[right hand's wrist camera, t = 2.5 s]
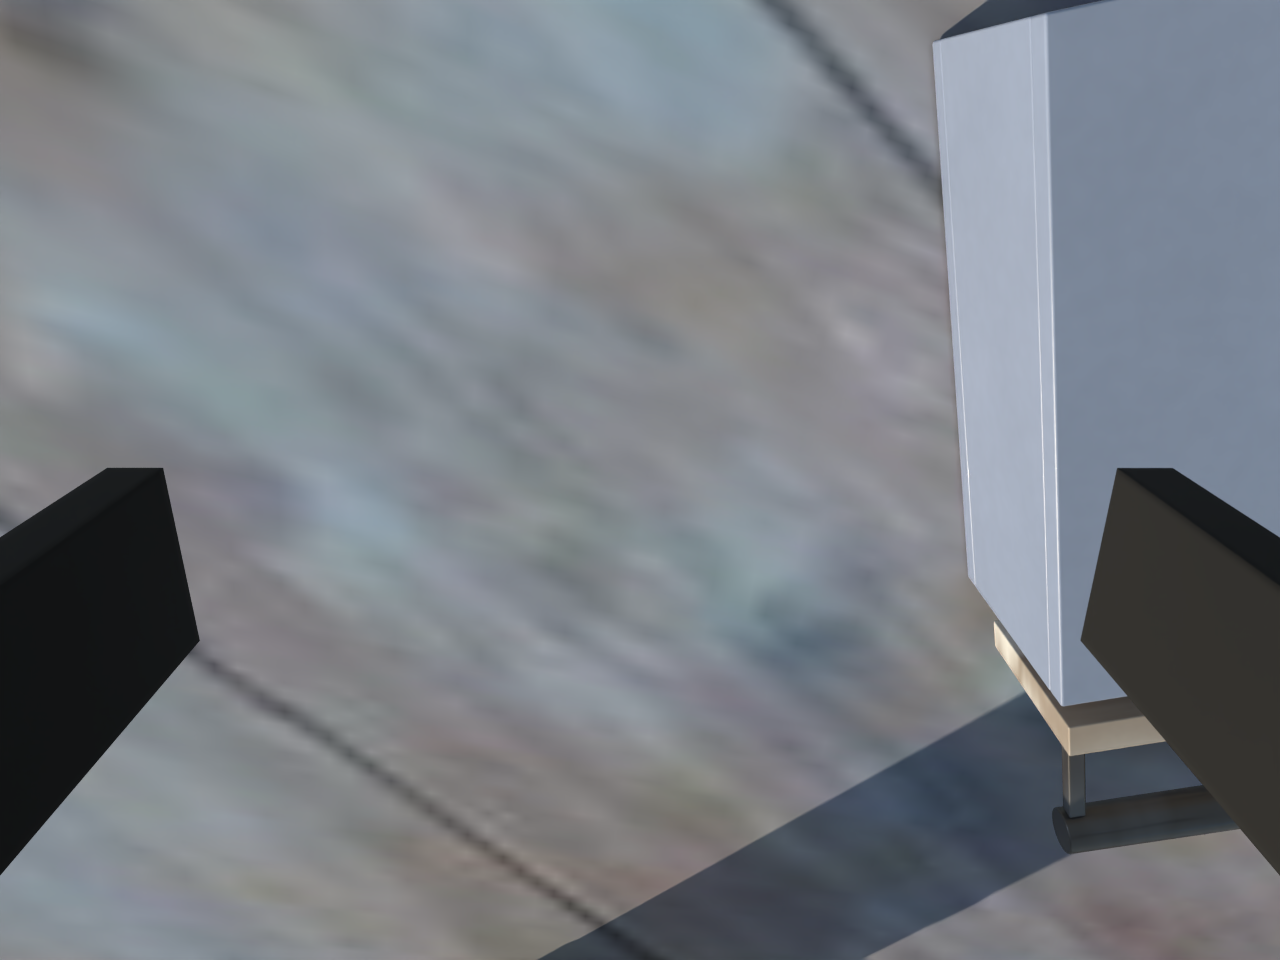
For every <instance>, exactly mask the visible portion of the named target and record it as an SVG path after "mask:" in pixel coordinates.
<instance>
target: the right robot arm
mask: <svg viewBox="0 0 1280 960" xmlns="http://www.w3.org/2000/svg"><path fill="white" fill-rule="evenodd" d="M199 641H200V640H199V635H198V630H197V626H196V621H195V616H194V611H193V607H192V602H191V597H190V593H189V588H188V583H187V579H186V574H185V569H184V564H183V560H182V555H181V550H180V546H179V541H178V536H177V532H176V527H175V522H174V517H173V513H172V508H171V503H170V499H169V494H168V489H167V485H166V480H165V475H164V470H163V468H106V469H105V470H103V471H102V472H100V473H99V474H97V475H96V476H94V477H93V478H91V479H89V480H88V481H86V482H85V483H83V484H82V485H80V486H79V487H77V488H76V489H74V490H72V491H71V492H69V493H68V494H66V495H65V496H63V497H62V498H60V499H59V500H57V501H56V502H54V503H52V504H51V505H49V506H48V507H46V508H45V509H43V510H42V511H40V512H39V513H37V514H35V515H34V516H32V517H31V518H29V519H28V520H26V521H25V522H23V523H22V524H20V525H18V526H17V527H15V528H14V529H12V530H11V531H9V532H8V533H6V534H5V535H3V536H2V537H0V875H1V874H2V873H3V871H4V870H5V869H6V868H7V867H8V866H9V864H10V863H11V862H12V861H13V860H14V858H15V857H16V856H17V855H18V854H19V853H20V851H21V850H22V849H23V848H24V847H25V846H26V844H27V843H28V842H29V841H30V840H31V838H32V837H33V836H34V835H35V834H36V833H37V831H38V830H39V829H40V828H41V827H42V826H43V824H44V823H45V822H46V821H47V820H48V818H49V817H50V816H51V815H52V814H53V813H54V811H55V810H56V809H57V808H58V807H59V806H60V804H61V803H62V802H63V801H64V800H65V798H66V797H67V796H68V795H69V794H70V793H71V791H72V790H73V789H74V788H75V787H76V786H77V784H78V783H79V782H80V781H81V780H82V778H83V777H84V776H85V775H86V774H87V773H88V771H89V770H90V769H91V768H92V767H93V766H94V764H95V763H96V762H97V761H98V760H99V758H100V757H101V756H102V755H103V754H104V753H105V751H106V750H107V749H108V748H109V747H110V746H111V744H112V743H113V742H114V741H115V740H116V738H117V737H118V736H119V735H120V734H121V733H122V731H123V730H124V729H125V728H126V727H127V726H128V724H129V723H130V722H131V721H132V720H133V718H134V717H135V716H136V715H137V714H138V713H139V711H140V710H141V709H142V708H143V707H144V706H145V704H146V703H147V702H148V701H149V700H150V698H151V697H152V696H153V695H154V694H155V693H156V691H157V690H158V689H159V688H160V687H161V686H162V684H163V683H164V682H165V681H166V680H167V678H168V677H169V676H170V675H171V674H172V673H173V671H174V670H175V669H176V668H177V667H178V666H179V664H180V663H181V662H182V661H183V660H184V658H185V657H186V656H187V655H188V654H189V653H190V651H191V650H192V649H193V648H194V647H195V646H196V644H197V643H198V642H199ZM1080 641H1081V642H1082V643H1083V644H1084V646H1085V647H1086V648H1087V649H1088V650H1089V651H1090V653H1091V654H1092V655H1093V656H1094V657H1095V658H1096V660H1097V661H1098V662H1099V663H1100V664H1101V666H1102V667H1103V668H1104V669H1105V670H1106V671H1107V673H1108V674H1109V675H1110V676H1111V677H1112V678H1113V680H1114V681H1115V682H1116V683H1117V684H1118V686H1119V687H1120V688H1121V689H1122V690H1123V691H1124V693H1125V694H1126V695H1127V696H1128V697H1129V698H1130V700H1131V701H1132V702H1133V703H1134V704H1135V706H1136V707H1137V708H1138V709H1139V710H1140V711H1141V713H1142V714H1143V715H1144V716H1145V717H1146V718H1147V720H1148V721H1149V722H1150V723H1151V724H1152V726H1153V727H1154V728H1155V729H1156V730H1157V731H1158V733H1159V734H1160V735H1161V736H1162V737H1163V738H1164V740H1165V741H1166V742H1167V743H1168V744H1169V746H1170V747H1171V748H1172V749H1173V750H1174V751H1175V753H1176V754H1177V755H1178V756H1179V757H1180V758H1181V760H1182V761H1183V762H1184V763H1185V764H1186V766H1187V767H1188V768H1189V769H1190V770H1191V771H1192V773H1193V774H1194V775H1195V776H1196V777H1197V778H1198V780H1199V781H1200V782H1201V783H1202V784H1203V786H1204V787H1205V788H1206V789H1207V790H1208V791H1209V793H1210V794H1211V795H1212V796H1213V797H1214V798H1215V800H1216V801H1217V802H1218V803H1219V804H1220V806H1221V807H1222V808H1223V809H1224V810H1225V811H1226V813H1227V814H1228V815H1229V816H1230V817H1231V818H1232V820H1233V821H1234V822H1235V823H1236V824H1237V826H1238V827H1239V828H1240V829H1241V830H1242V831H1243V833H1244V834H1245V835H1246V836H1247V837H1248V838H1249V840H1250V841H1251V842H1252V843H1253V844H1254V846H1255V847H1256V848H1257V849H1258V850H1259V851H1260V853H1261V854H1262V855H1263V856H1264V857H1265V858H1266V860H1267V861H1268V862H1269V863H1270V864H1271V866H1272V867H1273V868H1274V869H1275V870H1276V871H1277V873H1278V874H1279V875H1280V537H1278V536H1277V535H1275V534H1274V533H1272V532H1271V531H1269V530H1268V529H1266V528H1265V527H1263V526H1262V525H1260V524H1258V523H1257V522H1255V521H1254V520H1252V519H1251V518H1249V517H1248V516H1246V515H1245V514H1243V513H1241V512H1240V511H1238V510H1237V509H1235V508H1234V507H1232V506H1231V505H1229V504H1228V503H1226V502H1224V501H1223V500H1221V499H1220V498H1218V497H1217V496H1215V495H1214V494H1212V493H1211V492H1209V491H1208V490H1206V489H1204V488H1203V487H1201V486H1200V485H1198V484H1197V483H1195V482H1194V481H1192V480H1191V479H1189V478H1187V477H1186V476H1184V475H1183V474H1181V473H1180V472H1178V471H1177V470H1175V469H1174V468H1117V470H1116V475H1115V480H1114V485H1113V489H1112V494H1111V499H1110V503H1109V508H1108V513H1107V517H1106V522H1105V527H1104V532H1103V536H1102V541H1101V546H1100V550H1099V555H1098V560H1097V564H1096V569H1095V574H1094V579H1093V583H1092V588H1091V593H1090V597H1089V602H1088V607H1087V611H1086V616H1085V621H1084V626H1083V630H1082V635H1081V640H1080Z"/></svg>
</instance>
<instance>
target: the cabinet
mask: <svg viewBox="0 0 1280 960" xmlns="http://www.w3.org/2000/svg"><path fill="white" fill-rule="evenodd" d="M933 58H934V73H935V88H936V103H937V118H938V133H939V148H940V162H941V177H942V192H943V207H944V222H945V237H946V252H947V267H948V282H949V297H950V312H951V326H952V341H953V356H954V371H955V386H956V401H957V416H958V431H959V446H960V461H961V476H962V490H963V505H964V520H965V535H966V550H967V565H968V576H969V578H970V579H971V581H972V582H973V583H974V585H975V586H976V588H977V589H978V591H979V592H980V594H981V595H982V596H983V598H984V599H985V601H986V602H987V603H988V605H989V606H990V608H991V609H992V610H993V612H994V613H995V615H996V616H997V617H998V619H999V620H1000V622H1001V623H1002V624H1003V626H1004V627H1005V628H1006V630H1007V631H1008V633H1009V634H1010V635H1011V637H1012V638H1013V640H1014V641H1015V642H1016V644H1017V645H1018V647H1019V648H1020V649H1021V651H1022V652H1023V654H1024V655H1025V656H1026V658H1027V659H1028V661H1029V662H1030V663H1031V665H1032V666H1033V668H1034V669H1035V670H1036V672H1037V673H1038V675H1039V676H1040V677H1041V679H1042V680H1043V682H1044V683H1045V684H1046V686H1047V687H1048V689H1049V690H1051V692H1052V694H1053V695H1054V696H1055V698H1056V699H1057V701H1058V702H1059V703H1060V705H1061V706H1069V705H1075V704H1081V703H1088V702H1094V701H1100V700H1107V699H1113V698H1119V697H1125V696H1127V695H1126V694H1125V693H1124V691H1123V690H1122V689H1121V688H1120V687H1119V686H1118V684H1117V683H1116V682H1115V681H1114V680H1113V678H1112V677H1111V676H1110V675H1109V674H1108V673H1107V671H1106V670H1105V669H1104V668H1103V667H1102V666H1101V664H1100V663H1099V662H1098V661H1097V660H1096V658H1095V657H1094V656H1093V655H1092V654H1091V653H1090V651H1089V650H1088V649H1087V648H1086V647H1085V646H1084V644H1083V643H1082V642H1081V641H1080V640H1081V635H1082V630H1083V626H1084V621H1085V616H1086V611H1087V607H1088V602H1089V597H1090V593H1091V588H1092V583H1093V579H1094V574H1095V569H1096V564H1097V560H1098V555H1099V550H1100V546H1101V541H1102V536H1103V532H1104V527H1105V522H1106V517H1107V513H1108V508H1109V503H1110V499H1111V494H1112V489H1113V485H1114V480H1115V475H1116V470H1117V468H1174V469H1175V470H1177V471H1178V472H1180V473H1181V474H1183V475H1184V476H1186V477H1187V478H1189V479H1191V480H1192V481H1194V482H1195V483H1197V484H1198V485H1200V486H1201V487H1203V488H1204V489H1206V490H1208V491H1209V492H1211V493H1212V494H1214V495H1215V496H1217V497H1218V498H1220V499H1221V500H1223V501H1224V502H1226V503H1228V504H1229V505H1231V506H1232V507H1234V508H1235V509H1237V510H1238V511H1240V512H1241V513H1243V514H1245V515H1246V516H1248V517H1249V518H1251V519H1252V520H1254V521H1255V522H1257V523H1258V524H1260V525H1262V526H1263V527H1265V528H1266V529H1268V530H1269V531H1271V532H1272V533H1274V534H1275V535H1277V536H1278V537H1280V0H1101V1H1097V2H1092V3H1087V4H1083V5H1078V6H1073V7H1069V8H1064V9H1059V10H1055V11H1050V12H1046V13H1042V14H1038V15H1034V16H1030V17H1026V18H1022V19H1018V20H1014V21H1010V22H1006V23H1002V24H998V25H994V26H991V27H987V28H983V29H979V30H975V31H971V32H967V33H963V34H959V35H955V36H951V37H947V38H943V39H940V40H936V41H934V42H933Z"/></svg>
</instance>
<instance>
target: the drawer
mask: <svg viewBox="0 0 1280 960" xmlns="http://www.w3.org/2000/svg"><path fill="white" fill-rule="evenodd" d="M994 632H995V646H996V648H997V649H998V651H999V652H1000V654H1001V655H1002V657H1003V658H1004V660H1005V661H1006V663H1007V664H1008V666H1009V667H1010V669H1011V670H1012V671H1013V673H1014V674H1015V676H1016V677H1017V679H1018V680H1019V682H1020V683H1021V685H1022V686H1023V688H1024V689H1025V691H1026V692H1027V694H1028V695H1029V697H1030V698H1031V700H1032V701H1033V703H1034V704H1035V706H1036V707H1037V709H1038V710H1039V712H1040V713H1041V715H1042V716H1043V718H1044V719H1045V721H1046V722H1047V723H1048V725H1049V726H1050V728H1051V729H1052V731H1053V732H1054V734H1055V735H1056V737H1057V738H1058V740H1059V741H1060V743H1061V744H1062V776H1063V806H1062V807H1056V808H1054V809H1053V811H1052V819H1053V825H1054V829H1055V832H1056V835H1057V838H1058V840H1059V843H1060V845H1061V846H1062V848H1063V849H1064V851H1065V852H1066V853H1068V854H1074V853H1080V852H1087V851H1094V850H1101V849H1107V848H1114V847H1121V846H1128V845H1134V844H1141V843H1148V842H1155V841H1161V840H1168V839H1175V838H1182V837H1189V836H1195V835H1202V834H1209V833H1216V832H1222V831H1229V830H1236V829H1240V828H1239V827H1238V826H1237V824H1236V823H1235V822H1234V821H1233V820H1232V818H1231V817H1230V816H1229V815H1228V814H1227V813H1226V811H1225V810H1224V809H1223V808H1222V807H1221V806H1220V804H1219V803H1218V802H1217V801H1216V800H1215V798H1214V797H1213V796H1212V795H1211V794H1210V793H1209V791H1208V790H1207V789H1206V788H1205V787H1204V786H1203V785H1200V786H1194V787H1187V788H1180V789H1174V790H1167V791H1161V792H1154V793H1148V794H1141V795H1134V796H1128V797H1121V798H1115V799H1108V800H1101V801H1095V802H1088V803H1085V754H1087V753H1093V752H1100V751H1106V750H1113V749H1119V748H1126V747H1132V746H1138V745H1145V744H1151V743H1158V742H1164V741H1165V740H1164V738H1163V737H1162V736H1161V735H1160V734H1159V733H1158V731H1157V730H1156V729H1155V728H1154V727H1153V726H1152V724H1151V723H1150V722H1149V721H1148V720H1147V718H1146V717H1145V716H1144V715H1143V714H1142V713H1141V711H1140V710H1139V709H1138V708H1137V707H1136V706H1135V704H1134V703H1133V702H1132V701H1131V700H1130V698H1129V697H1128V696H1125V697H1119V698H1113V699H1107V700H1100V701H1094V702H1088V703H1081V704H1075V705H1069V706H1061V705H1060V703H1059V702H1058V701H1057V699H1056V698H1055V696H1054V695H1053V694H1052V692H1051V690H1049V689H1048V687H1047V686H1046V684H1045V683H1044V682H1043V680H1042V679H1041V677H1040V676H1039V675H1038V673H1037V672H1036V670H1035V669H1034V668H1033V666H1032V665H1031V663H1030V662H1029V661H1028V659H1027V658H1026V656H1025V655H1024V654H1023V652H1022V651H1021V649H1020V648H1019V647H1018V645H1017V644H1016V642H1015V641H1014V640H1013V638H1012V637H1011V635H1010V634H1009V633H1008V631H1007V630H1006V628H1005V627H1004V626H1003V624H1002V623H1001V622H1000V620H998V621H994Z"/></svg>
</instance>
